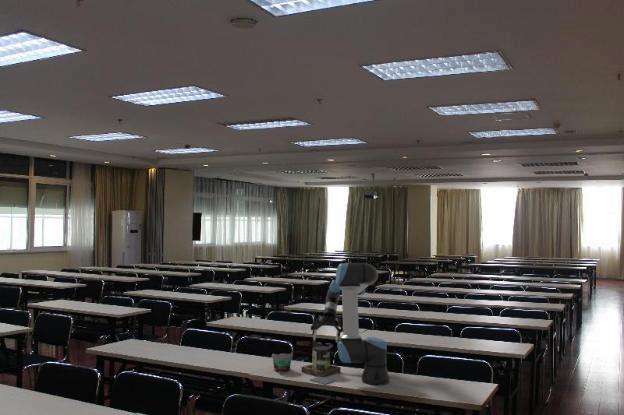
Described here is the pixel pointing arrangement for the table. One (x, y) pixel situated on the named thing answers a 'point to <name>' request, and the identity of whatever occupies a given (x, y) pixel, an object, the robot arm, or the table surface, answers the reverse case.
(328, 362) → the coffee can
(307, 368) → the wooden tray
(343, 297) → the robot arm
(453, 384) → the table surface
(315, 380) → the mat
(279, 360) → the food container
